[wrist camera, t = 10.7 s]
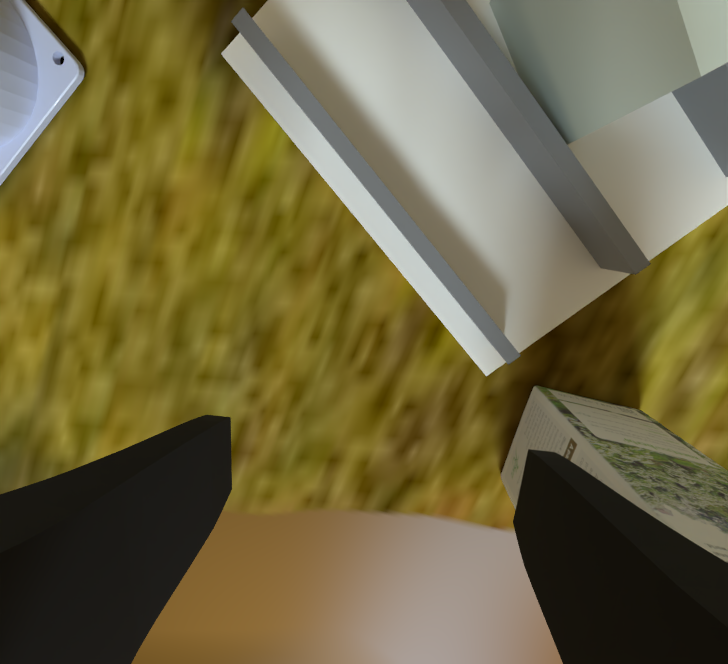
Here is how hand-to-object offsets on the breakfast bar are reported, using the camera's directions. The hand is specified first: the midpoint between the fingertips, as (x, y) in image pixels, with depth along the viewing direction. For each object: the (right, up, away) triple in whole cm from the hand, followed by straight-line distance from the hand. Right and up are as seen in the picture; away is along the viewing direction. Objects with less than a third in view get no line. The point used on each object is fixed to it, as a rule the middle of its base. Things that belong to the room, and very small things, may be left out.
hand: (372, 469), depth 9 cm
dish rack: (+5, +12, +7) cm, 15 cm away
